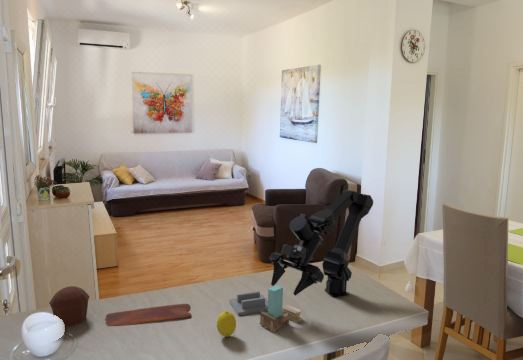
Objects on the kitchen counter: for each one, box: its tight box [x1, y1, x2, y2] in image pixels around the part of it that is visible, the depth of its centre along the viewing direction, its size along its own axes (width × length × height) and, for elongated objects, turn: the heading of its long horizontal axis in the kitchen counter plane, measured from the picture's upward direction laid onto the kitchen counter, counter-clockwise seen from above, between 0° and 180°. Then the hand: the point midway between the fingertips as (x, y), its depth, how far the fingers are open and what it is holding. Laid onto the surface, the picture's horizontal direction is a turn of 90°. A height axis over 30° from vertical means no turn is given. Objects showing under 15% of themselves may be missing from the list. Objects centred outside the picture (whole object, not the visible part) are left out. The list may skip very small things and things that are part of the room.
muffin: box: [48, 285, 90, 328], centre depth 130 cm, size 12×11×10 cm
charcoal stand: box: [229, 290, 268, 316], centre depth 141 cm, size 12×10×4 cm
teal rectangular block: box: [267, 284, 284, 318], centre depth 129 cm, size 4×2×12 cm, turn 135°
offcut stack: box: [282, 304, 303, 323], centre depth 135 cm, size 3×8×3 cm, turn 47°
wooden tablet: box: [104, 303, 193, 327], centre depth 134 cm, size 27×10×2 cm, turn 105°
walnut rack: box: [259, 311, 290, 333], centre depth 129 cm, size 7×6×4 cm
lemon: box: [216, 310, 237, 338], centre depth 122 cm, size 6×6×8 cm
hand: (282, 289), depth 130 cm, fingers open, 9 cm apart
